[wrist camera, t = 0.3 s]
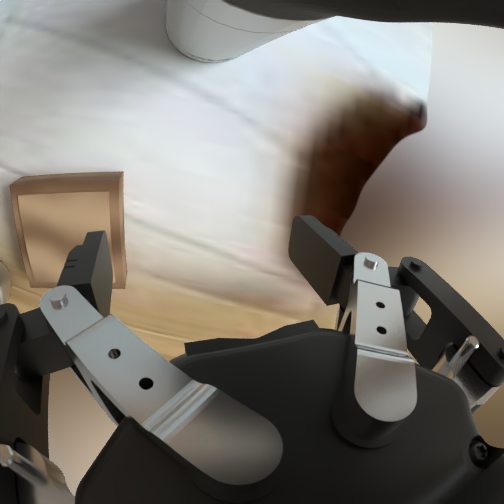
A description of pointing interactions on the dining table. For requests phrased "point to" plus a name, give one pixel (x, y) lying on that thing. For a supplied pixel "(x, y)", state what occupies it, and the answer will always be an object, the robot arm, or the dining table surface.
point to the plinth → (67, 221)
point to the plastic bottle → (4, 284)
